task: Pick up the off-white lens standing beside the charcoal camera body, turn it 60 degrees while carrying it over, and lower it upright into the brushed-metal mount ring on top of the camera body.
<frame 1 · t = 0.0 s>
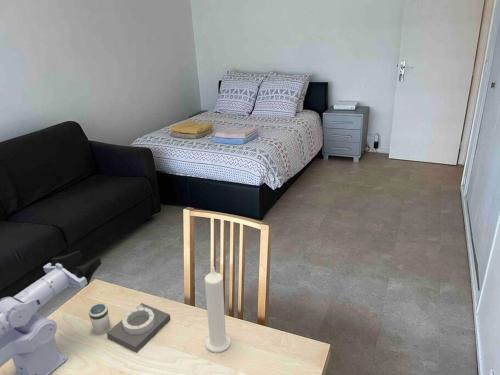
hand: (90, 257, 106), 22 cm above the table, tool horizontal, fingers open, 7 cm apart
lens: (102, 328, 111), on the table
camera body: (140, 328, 110), on the table
candle: (218, 343, 105), on the table
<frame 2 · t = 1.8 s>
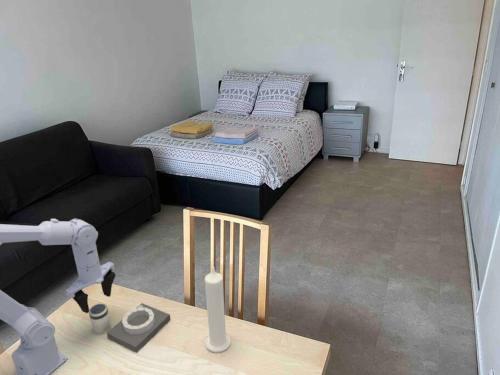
hand: (96, 303, 107), 9 cm above the table, tool pointing down, fingers open, 7 cm apart
nothing on the table moved.
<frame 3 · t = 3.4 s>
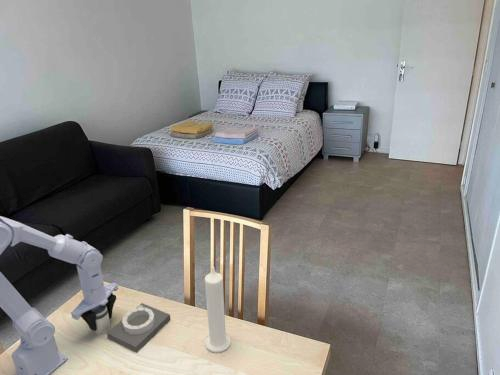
hand: (101, 323, 110), 2 cm above the table, tool pointing down, fingers closed on lens, 5 cm apart
lens: (102, 328, 111), on the table, touching gripper
everything else where it was.
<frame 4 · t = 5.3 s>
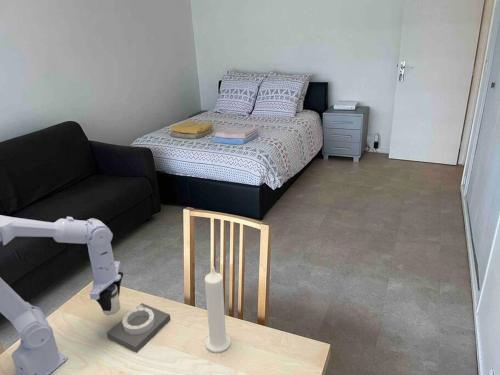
hand: (111, 303, 107), 9 cm above the table, tool pointing down, fingers closed on lens, 5 cm apart
lens: (111, 309, 108), point 7 cm above the table, touching gripper
everything else where it was.
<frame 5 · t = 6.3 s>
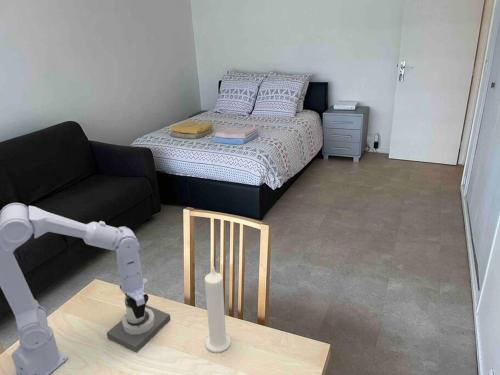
hand: (137, 311, 108), 6 cm above the table, tool pointing down, fingers closed on lens, 5 cm apart
lens: (136, 317, 108), point 4 cm above the table, touching gripper
everything else where it was.
when the fingers open (5 cm above the table, at t = 7.1 s): lens drops 1 cm, resting on camera body.
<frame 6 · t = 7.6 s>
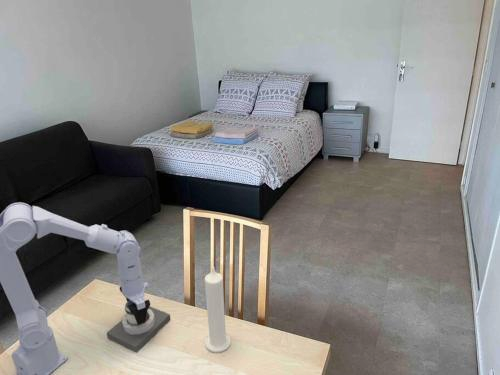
hand: (137, 314, 108), 5 cm above the table, tool pointing down, fingers open, 7 cm apart
lens: (137, 323, 109), point 2 cm above the table, touching camera body
everything else where it was.
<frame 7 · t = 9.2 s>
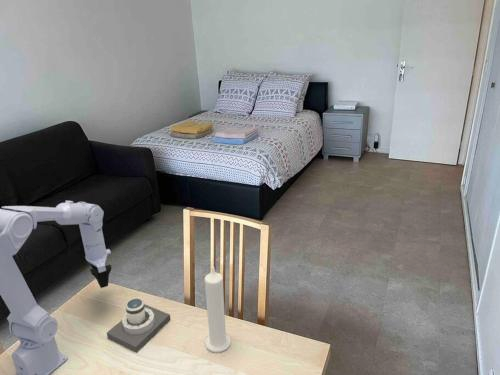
hand: (101, 279, 117), 9 cm above the table, tool pointing down, fingers open, 7 cm apart
nothing on the table moved.
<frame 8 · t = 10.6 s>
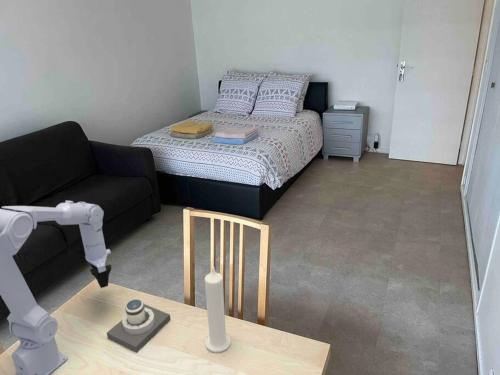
hand: (101, 279, 117), 9 cm above the table, tool pointing down, fingers open, 7 cm apart
nothing on the table moved.
at the end: lens 0.4 cm off-centre on the camera body, point 2.1 cm above the camera body's base; lens tilted 2°; the gripper is holding nothing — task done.
